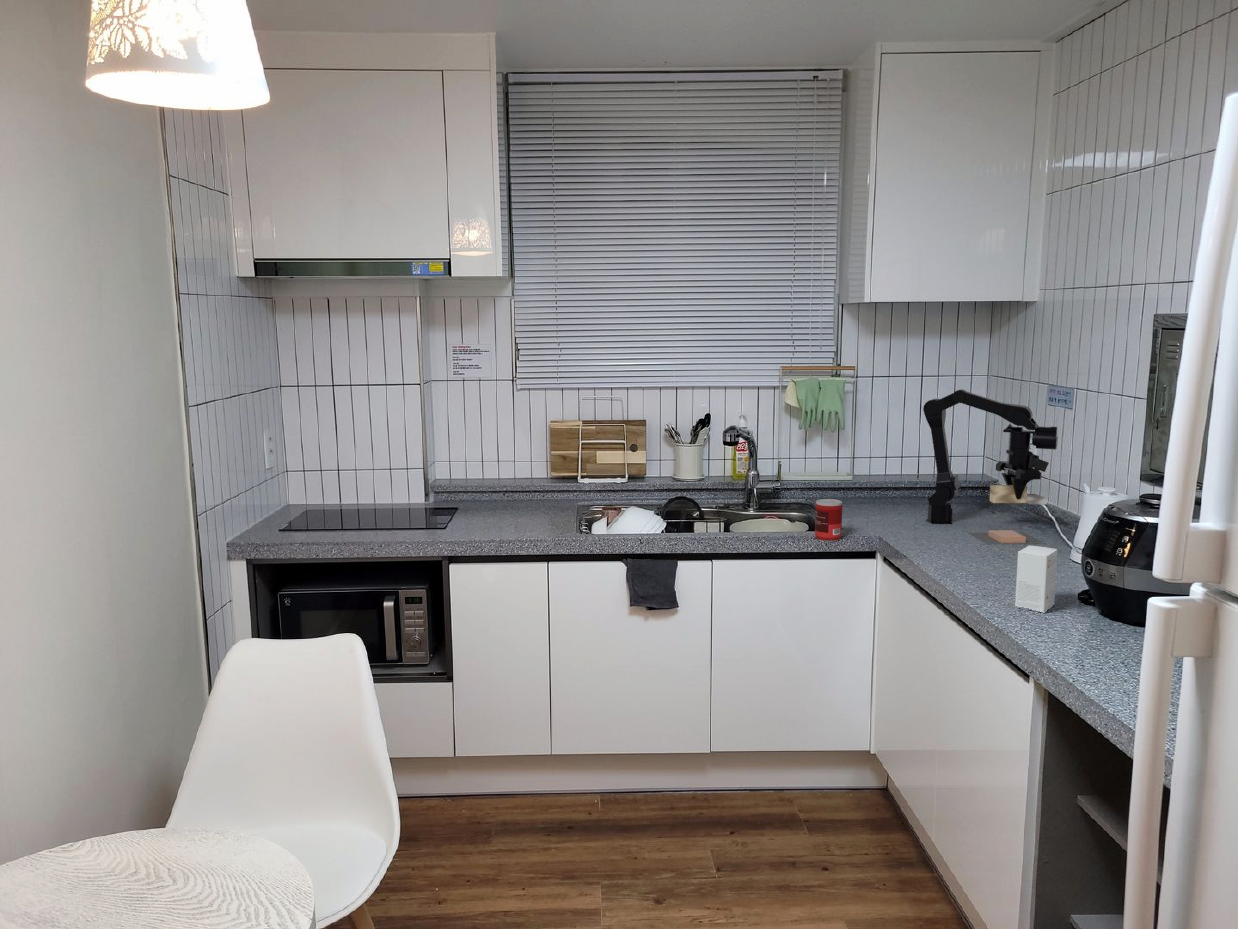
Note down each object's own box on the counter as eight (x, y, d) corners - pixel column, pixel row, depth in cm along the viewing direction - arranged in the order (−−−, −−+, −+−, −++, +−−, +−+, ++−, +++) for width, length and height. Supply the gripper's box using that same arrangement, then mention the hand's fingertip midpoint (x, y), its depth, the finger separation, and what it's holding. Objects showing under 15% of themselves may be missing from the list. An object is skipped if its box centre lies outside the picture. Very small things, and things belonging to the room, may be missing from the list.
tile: (988, 536, 271) (1001, 543, 262) (988, 530, 271) (1001, 537, 262) (1011, 535, 271) (1025, 543, 262) (1012, 530, 271) (1025, 537, 262)
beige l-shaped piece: (996, 504, 275) (997, 488, 275) (986, 499, 283) (987, 483, 283) (1046, 504, 275) (1047, 488, 275) (1034, 499, 283) (1035, 483, 283)
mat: (987, 545, 261) (987, 544, 261) (967, 533, 276) (967, 532, 276) (1046, 545, 261) (1047, 544, 261) (1023, 533, 276) (1023, 532, 276)
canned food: (842, 535, 274) (843, 499, 272) (839, 541, 266) (841, 504, 265) (816, 534, 276) (817, 498, 275) (813, 539, 269) (814, 503, 267)
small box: (1025, 600, 208) (1028, 544, 206) (1054, 605, 204) (1058, 548, 202) (1013, 608, 202) (1017, 551, 200) (1044, 614, 198) (1048, 555, 196)
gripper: (1060, 451, 268) (1056, 504, 270) (1032, 443, 286) (1028, 492, 288) (1022, 451, 268) (1019, 504, 270) (996, 443, 286) (993, 492, 288)
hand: (1016, 498), depth 279 cm, fingers closed on beige l-shaped piece, 3 cm apart
